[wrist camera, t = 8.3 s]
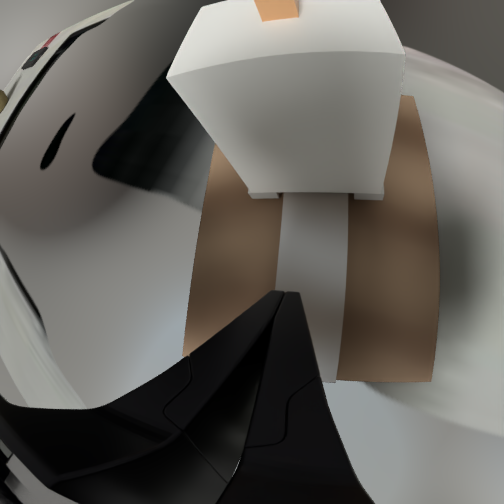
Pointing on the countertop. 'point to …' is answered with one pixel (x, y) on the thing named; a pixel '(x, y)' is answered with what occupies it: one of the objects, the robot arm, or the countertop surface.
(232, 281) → the rail board
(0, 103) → the squeeze bottle
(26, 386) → the countertop surface
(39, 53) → the smart home device
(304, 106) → the block
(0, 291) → the countertop surface
